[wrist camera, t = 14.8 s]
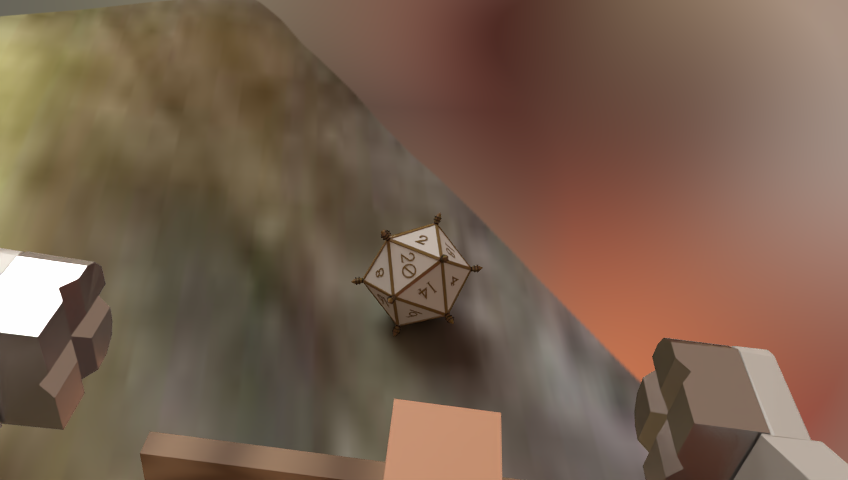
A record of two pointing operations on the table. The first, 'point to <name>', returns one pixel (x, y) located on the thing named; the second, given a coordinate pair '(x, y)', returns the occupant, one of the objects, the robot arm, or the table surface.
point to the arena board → (246, 462)
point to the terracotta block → (443, 443)
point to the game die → (417, 275)
